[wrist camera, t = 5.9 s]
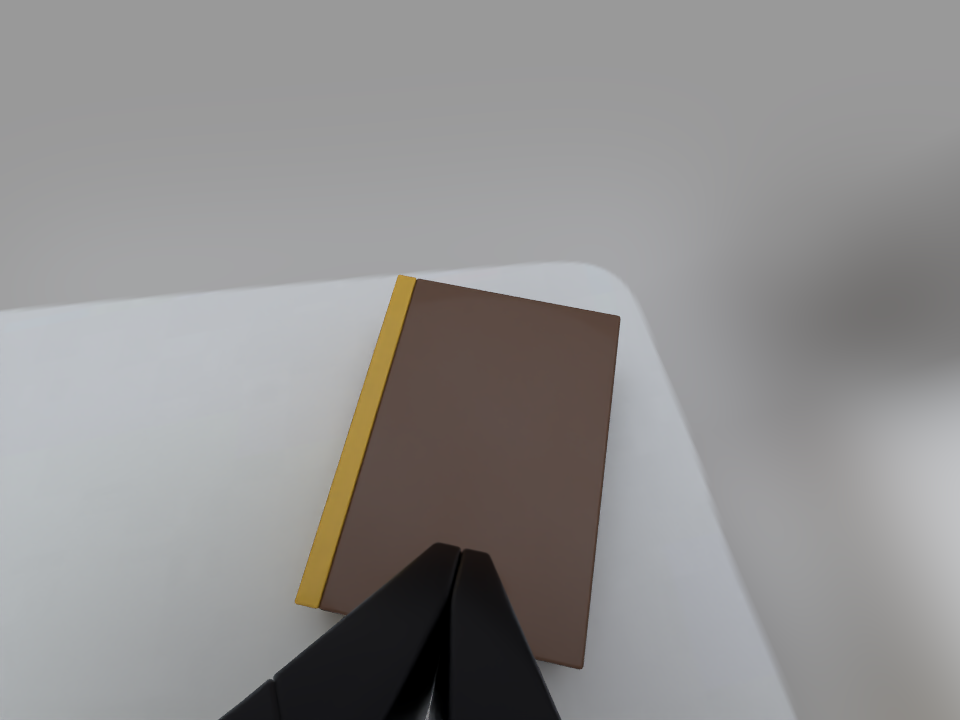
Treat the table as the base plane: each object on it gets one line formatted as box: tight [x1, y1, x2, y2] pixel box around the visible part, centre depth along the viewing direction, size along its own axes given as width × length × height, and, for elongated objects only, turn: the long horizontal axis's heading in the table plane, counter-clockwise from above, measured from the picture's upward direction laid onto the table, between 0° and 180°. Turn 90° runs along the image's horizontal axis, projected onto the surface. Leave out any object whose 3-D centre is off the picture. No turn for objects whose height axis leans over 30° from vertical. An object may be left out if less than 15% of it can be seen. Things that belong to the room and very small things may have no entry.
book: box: [295, 275, 620, 670], centre depth 15 cm, size 2×7×10 cm
